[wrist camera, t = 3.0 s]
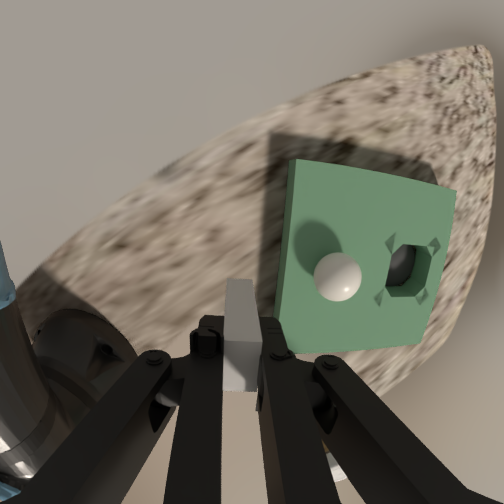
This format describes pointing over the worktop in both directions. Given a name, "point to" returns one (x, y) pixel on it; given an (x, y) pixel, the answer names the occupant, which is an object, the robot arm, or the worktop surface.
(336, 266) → the ball
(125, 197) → the worktop surface
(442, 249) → the putting board
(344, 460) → the robot arm
